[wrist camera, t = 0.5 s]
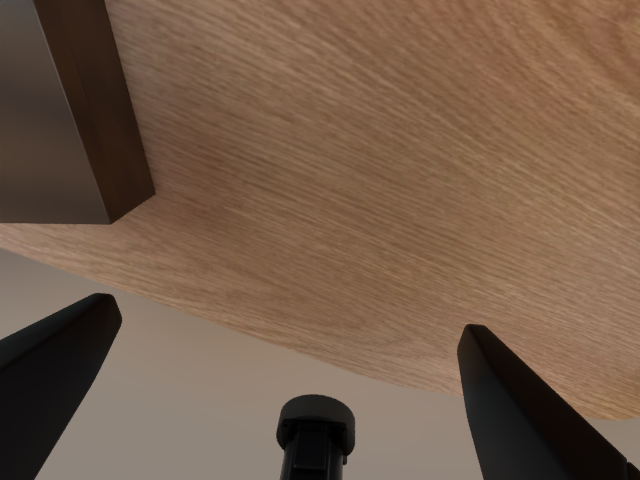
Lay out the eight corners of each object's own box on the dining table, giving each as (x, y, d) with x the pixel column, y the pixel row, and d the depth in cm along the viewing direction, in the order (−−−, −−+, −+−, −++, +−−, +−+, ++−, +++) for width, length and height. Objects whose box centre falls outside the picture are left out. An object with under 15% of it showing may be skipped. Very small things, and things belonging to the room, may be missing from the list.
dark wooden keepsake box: (156, 194, 22) (111, 225, 18) (11, 193, 22) (-63, 222, 18) (90, -50, 16) (2, -85, 12) (-100, -38, 17) (-239, -67, 13)
